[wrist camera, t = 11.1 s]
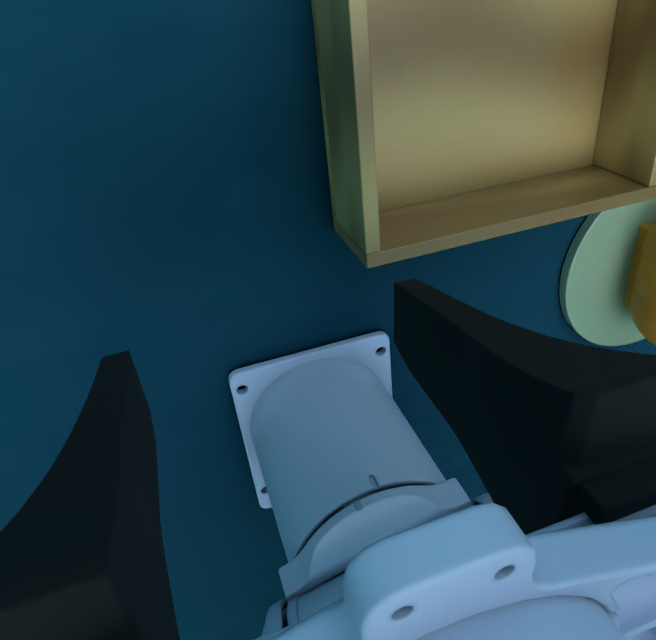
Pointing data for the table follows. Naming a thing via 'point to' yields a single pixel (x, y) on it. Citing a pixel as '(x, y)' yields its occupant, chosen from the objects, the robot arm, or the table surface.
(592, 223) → the saucer
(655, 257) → the orange rounded piece
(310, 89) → the table surface
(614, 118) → the wooden tray
